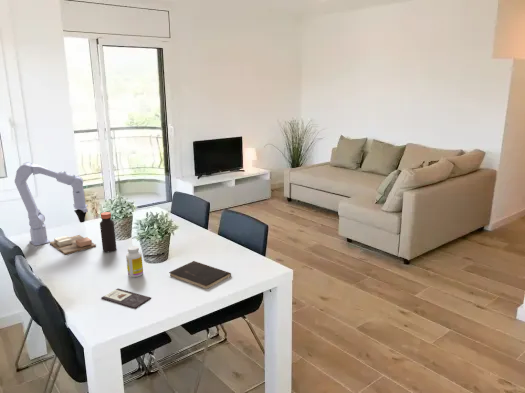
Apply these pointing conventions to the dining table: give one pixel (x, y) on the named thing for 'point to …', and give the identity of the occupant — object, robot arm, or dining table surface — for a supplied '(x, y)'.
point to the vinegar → (107, 232)
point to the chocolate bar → (126, 298)
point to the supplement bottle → (134, 262)
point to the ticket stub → (83, 242)
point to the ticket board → (69, 244)
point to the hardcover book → (200, 274)
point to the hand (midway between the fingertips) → (82, 222)
